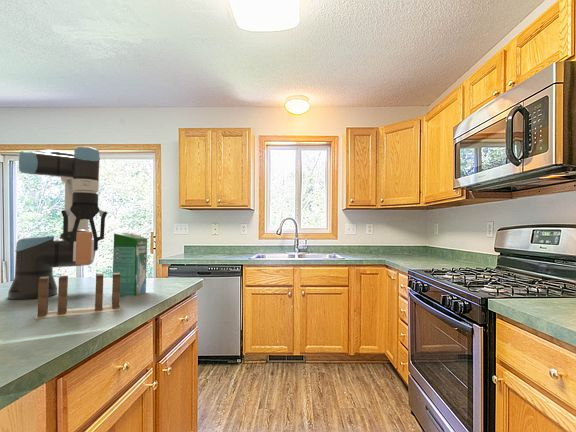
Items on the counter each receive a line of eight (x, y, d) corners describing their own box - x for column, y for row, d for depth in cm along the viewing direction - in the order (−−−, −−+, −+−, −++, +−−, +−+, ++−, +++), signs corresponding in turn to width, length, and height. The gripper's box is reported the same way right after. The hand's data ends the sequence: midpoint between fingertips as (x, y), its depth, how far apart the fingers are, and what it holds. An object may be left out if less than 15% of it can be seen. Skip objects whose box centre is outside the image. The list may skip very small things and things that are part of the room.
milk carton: (135, 298, 123) (137, 233, 124) (111, 297, 123) (113, 232, 124) (145, 293, 132) (147, 232, 133) (124, 293, 132) (125, 232, 133)
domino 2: (58, 311, 100) (60, 275, 100) (66, 310, 101) (67, 275, 101) (57, 315, 96) (58, 277, 96) (65, 314, 97) (66, 277, 97)
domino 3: (95, 307, 105) (96, 273, 105) (102, 307, 106) (103, 273, 106) (95, 311, 101) (96, 275, 101) (102, 310, 102) (103, 275, 102)
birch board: (38, 315, 99) (39, 311, 99) (119, 306, 110) (119, 303, 110) (34, 322, 91) (34, 319, 91) (121, 313, 102) (121, 309, 102)
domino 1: (39, 313, 97) (40, 277, 98) (47, 312, 98) (49, 276, 99) (37, 317, 93) (38, 279, 94) (45, 316, 94) (47, 278, 95)
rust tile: (75, 264, 108) (76, 232, 108) (75, 264, 110) (76, 231, 110) (90, 264, 110) (91, 232, 110) (90, 263, 112) (91, 231, 112)
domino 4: (111, 306, 107) (112, 272, 107) (118, 305, 108) (119, 272, 108) (112, 309, 103) (113, 274, 104) (119, 308, 104) (120, 274, 105)
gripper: (53, 189, 103) (50, 263, 102) (115, 193, 112) (112, 260, 111) (55, 191, 109) (53, 260, 109) (114, 194, 118) (112, 258, 118)
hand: (83, 260), depth 110 cm, fingers closed on rust tile, 4 cm apart
